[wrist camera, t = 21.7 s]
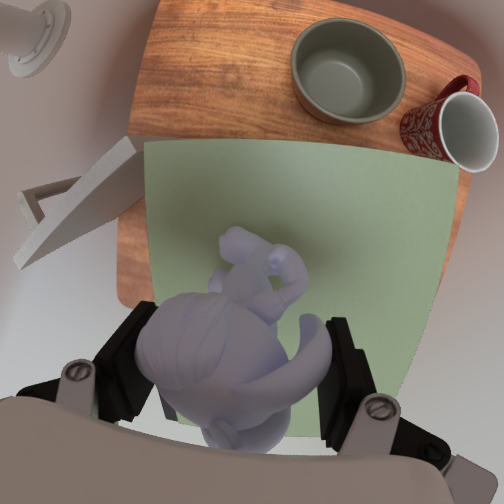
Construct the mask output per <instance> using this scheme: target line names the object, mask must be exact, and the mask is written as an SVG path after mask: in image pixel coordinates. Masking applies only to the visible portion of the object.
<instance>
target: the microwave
mask: <svg viewBox="0 0 504 504" xmlns="http://www.w3.org/2000/svg"><path fill="white" fill-rule="evenodd" d="M459 167H460V166H459V165H457V164H453V163H448V162H444V161H440V160H435V159H430V158H425V157H420V156H415V155H410V154H404V153H398V152H392V151H386V150H379V149H373V148H365V147H358V146H349V145H341V144H331V143H320V142H308V141H294V140H275V139H233V138H224V139H183V140H164V141H150V142H144V178H145V203H146V220H147V234H148V246H149V256H150V266H151V275H152V283H153V291H154V299H155V304H156V306H158V307H159V306H160V305H161V304H162V303H163V302H164V301H165V300H167V299H169V298H174V297H175V296H177V295H178V294H181V293H188V292H196V293H205V294H207V293H208V292H209V290H208V287H207V285H208V281H209V279H210V278H211V277H212V276H213V273H214V271H215V270H216V269H217V268H224V269H227V270H229V271H230V270H231V269H232V267H233V266H235V265H234V264H232V263H229V262H227V261H225V260H224V259H223V258H222V257H221V256H220V253H219V250H220V247H219V238H220V236H221V235H222V234H224V233H226V231H227V230H228V229H229V228H230V227H233V226H240V227H242V228H243V229H245V230H247V231H249V232H252V233H254V234H256V235H258V236H260V237H261V238H263V239H264V240H266V241H268V242H269V243H271V244H273V245H274V244H284V245H287V246H289V247H291V248H292V249H294V250H295V251H296V252H297V253H298V254H299V256H300V257H301V259H302V260H303V262H304V264H305V266H306V269H307V272H308V276H309V286H308V289H307V290H306V292H305V293H304V294H303V295H302V296H301V297H300V298H299V299H298V300H297V301H296V302H295V303H293V304H292V305H290V306H289V307H288V309H287V310H286V311H284V313H283V315H282V317H281V318H280V319H279V320H278V321H277V322H276V323H277V329H278V335H277V338H278V340H279V341H280V343H281V344H282V346H283V348H284V350H285V352H286V354H287V357H288V360H289V361H290V360H291V359H293V358H294V357H295V355H296V353H297V351H298V348H299V344H300V325H299V318H300V316H301V315H302V314H305V313H311V314H314V315H316V316H317V317H319V318H320V319H321V320H322V322H323V323H324V324H325V325H326V321H327V320H331V318H332V317H346V319H347V322H348V326H349V329H350V332H351V336H352V339H353V342H354V346H355V349H363V350H364V352H365V354H366V358H367V361H368V364H369V367H370V370H371V373H372V377H373V380H374V383H375V387H376V390H377V393H383V394H387V395H389V396H392V397H393V398H394V399H395V398H396V396H397V394H398V392H399V389H400V388H401V385H402V383H403V381H404V379H405V376H406V374H407V372H408V370H409V367H410V365H411V363H412V360H413V358H414V355H415V352H416V350H417V348H418V345H419V343H420V340H421V337H422V334H423V332H424V329H425V326H426V323H427V320H428V317H429V313H430V311H431V308H432V305H433V302H434V298H435V295H436V291H437V288H438V284H439V281H440V277H441V273H442V269H443V265H444V261H445V257H446V252H447V248H448V243H449V238H450V233H451V228H452V222H453V216H454V210H455V203H456V195H457V187H458V178H459ZM267 277H268V279H269V281H270V283H271V285H272V289H273V291H278V290H280V289H281V288H282V287H284V286H286V284H285V283H284V281H283V280H282V279H281V277H280V276H279V275H271V276H267ZM158 392H159V391H158ZM159 396H160V400H161V403H162V407H163V410H164V414H165V417H166V419H169V420H173V421H178V422H179V423H180V424H185V425H191V426H196V427H200V426H198V425H196V424H194V423H192V422H191V421H189V420H188V419H186V418H185V417H183V416H182V415H181V414H179V413H178V412H177V411H176V410H174V409H173V408H172V407H171V406H170V405H169V404H168V403H167V402H166V401H165V400H164V398H163V397H162V396H161V394H160V393H159ZM284 436H286V437H321V434H320V419H319V406H318V394H317V387H316V388H315V389H314V390H313V391H311V392H310V393H309V394H308V395H307V396H306V397H304V398H303V399H302V400H300V401H299V402H297V403H296V404H294V405H292V406H291V419H290V423H289V427H288V429H287V432H286V434H285V435H284Z"/></svg>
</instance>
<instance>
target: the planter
mask: <svg viewBox="0 0 504 504" xmlns="http://www.w3.org/2000/svg"><path fill="white" fill-rule="evenodd" d="M291 75H292V83H293V88H294V91H295V94H296V96H297V98H298V100H299V101H300V103H301V104H302V106H303V107H304V108H305V109H306V110H307V111H308V112H309V113H310V114H311V115H313V116H314V117H316V118H317V119H319V120H321V121H323V122H326V123H329V124H333V125H340V126H349V125H357V124H363V123H368V122H373V121H377V120H379V119H381V118H383V117H385V116H387V115H388V114H390V113H391V112H392V111H393V110H394V109H395V108H396V107H397V106H398V104H399V103H400V101H401V99H402V97H403V94H404V91H405V86H406V73H405V68H404V64H403V61H402V59H401V56H400V54H399V53H398V51H397V49H396V48H395V46H394V45H393V44H392V43H391V41H390V40H389V39H388V38H387V37H386V36H385V35H383V34H382V33H381V32H380V31H378V30H377V29H375V28H374V27H372V26H370V25H368V24H366V23H363V22H361V21H357V20H354V19H348V18H330V19H325V20H322V21H319V22H316V23H314V24H312V25H311V26H309V27H308V28H307V29H305V30H304V31H303V32H302V33H301V34H300V36H299V37H298V38H297V40H296V42H295V44H294V46H293V49H292V53H291Z"/></svg>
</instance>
